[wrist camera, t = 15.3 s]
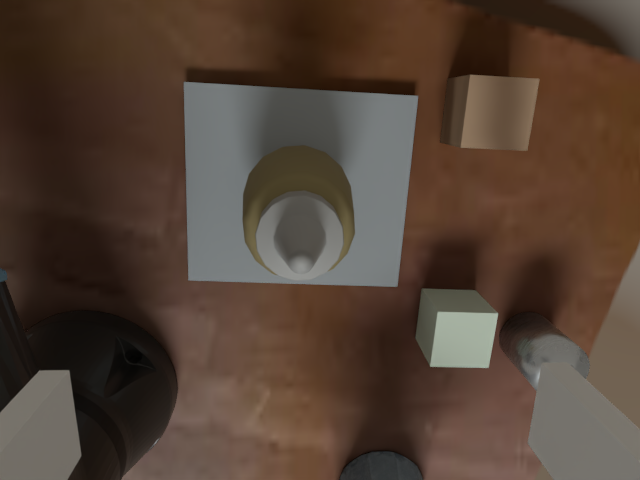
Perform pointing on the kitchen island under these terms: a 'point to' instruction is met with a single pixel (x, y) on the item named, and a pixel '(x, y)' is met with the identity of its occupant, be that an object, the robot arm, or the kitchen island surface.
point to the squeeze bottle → (298, 213)
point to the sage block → (455, 328)
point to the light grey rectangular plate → (294, 130)
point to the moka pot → (381, 468)
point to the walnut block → (489, 112)
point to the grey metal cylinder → (539, 346)
